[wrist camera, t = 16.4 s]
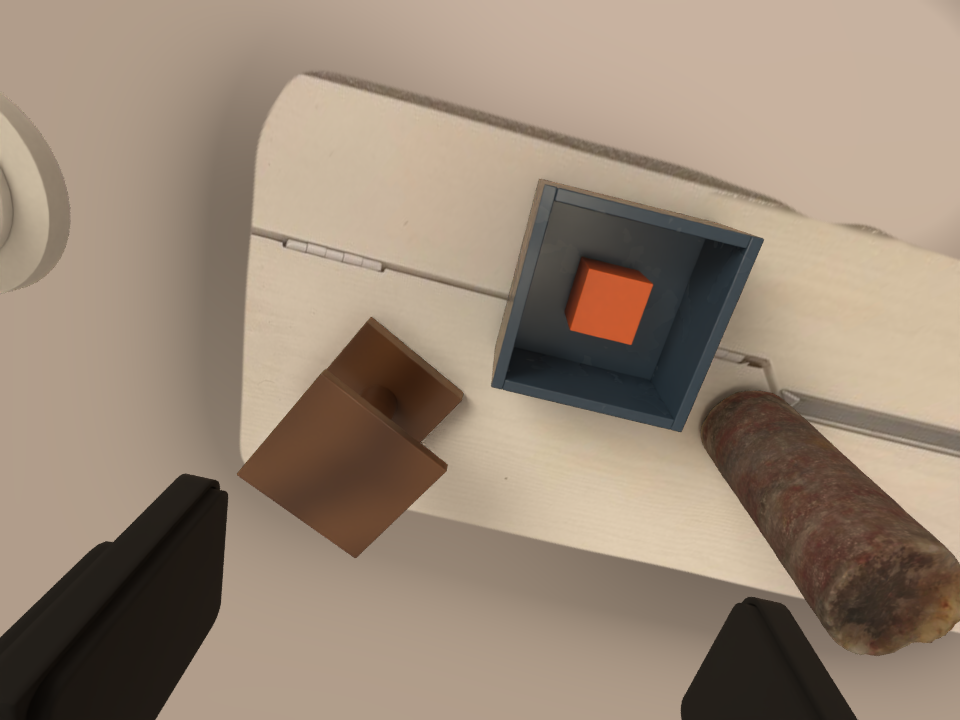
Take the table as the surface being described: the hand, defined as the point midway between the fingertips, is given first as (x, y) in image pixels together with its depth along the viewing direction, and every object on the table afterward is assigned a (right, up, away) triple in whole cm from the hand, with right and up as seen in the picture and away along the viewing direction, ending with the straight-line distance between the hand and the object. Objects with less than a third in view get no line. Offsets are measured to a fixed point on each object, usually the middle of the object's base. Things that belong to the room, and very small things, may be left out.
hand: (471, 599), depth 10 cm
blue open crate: (+10, +10, +32) cm, 34 cm away
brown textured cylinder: (+22, -1, +35) cm, 42 cm away
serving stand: (-8, +1, +36) cm, 37 cm away
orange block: (+9, +10, +31) cm, 34 cm away
